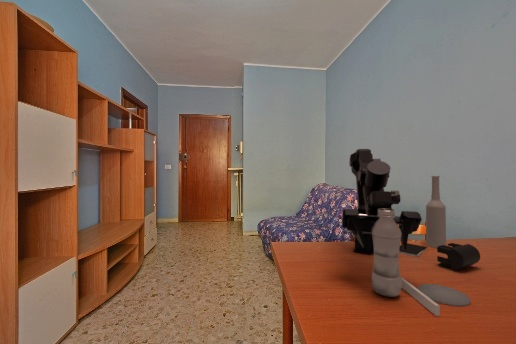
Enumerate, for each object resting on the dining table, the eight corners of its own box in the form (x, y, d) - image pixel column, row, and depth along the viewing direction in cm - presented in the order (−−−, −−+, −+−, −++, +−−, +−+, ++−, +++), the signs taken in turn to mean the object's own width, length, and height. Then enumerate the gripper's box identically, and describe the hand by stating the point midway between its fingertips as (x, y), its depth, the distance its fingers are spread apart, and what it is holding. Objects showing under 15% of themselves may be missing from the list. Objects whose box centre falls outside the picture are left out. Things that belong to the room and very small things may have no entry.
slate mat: (416, 297, 57) (416, 295, 57) (417, 282, 65) (417, 280, 65) (473, 311, 51) (473, 309, 51) (467, 292, 59) (467, 290, 59)
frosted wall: (439, 315, 49) (439, 305, 49) (435, 315, 49) (435, 305, 49) (393, 278, 67) (393, 270, 67) (390, 278, 67) (390, 270, 67)
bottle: (444, 245, 100) (444, 176, 100) (447, 249, 94) (447, 176, 94) (424, 242, 103) (424, 175, 103) (426, 247, 97) (426, 175, 97)
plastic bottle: (398, 289, 61) (398, 208, 61) (405, 303, 54) (404, 212, 54) (369, 285, 63) (369, 207, 63) (372, 298, 56) (372, 210, 56)
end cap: (463, 274, 70) (463, 250, 70) (436, 266, 77) (436, 244, 77) (480, 268, 75) (480, 246, 75) (453, 261, 81) (453, 240, 81)
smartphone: (428, 247, 95) (417, 255, 85) (428, 250, 95) (417, 258, 85) (404, 242, 101) (392, 249, 91) (404, 245, 101) (392, 253, 91)
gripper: (342, 179, 69) (345, 227, 58) (418, 180, 64) (437, 232, 53) (340, 205, 76) (343, 251, 65) (408, 207, 71) (424, 258, 60)
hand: (384, 248), depth 61 cm, fingers open, 9 cm apart
